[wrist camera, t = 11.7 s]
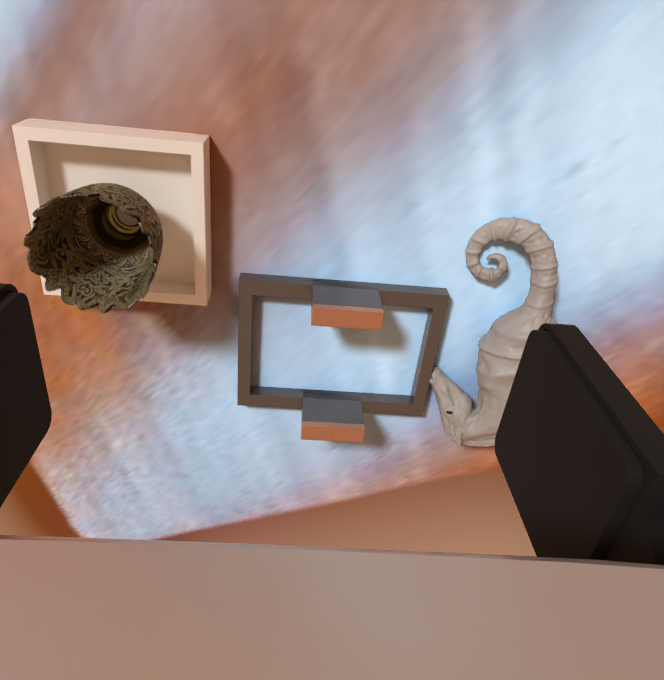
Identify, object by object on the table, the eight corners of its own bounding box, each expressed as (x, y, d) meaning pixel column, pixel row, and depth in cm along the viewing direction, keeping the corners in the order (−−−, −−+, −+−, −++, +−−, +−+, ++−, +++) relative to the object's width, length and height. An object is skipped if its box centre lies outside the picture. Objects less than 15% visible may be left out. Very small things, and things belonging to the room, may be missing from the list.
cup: (156, 280, 42) (125, 334, 35) (59, 230, 40) (6, 277, 33) (199, 197, 39) (175, 238, 32) (97, 138, 37) (47, 169, 30)
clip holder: (446, 287, 44) (461, 318, 39) (419, 408, 50) (429, 446, 45) (240, 271, 42) (232, 302, 38) (239, 397, 49) (232, 435, 44)
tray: (209, 135, 37) (203, 143, 35) (211, 290, 43) (206, 305, 41) (29, 117, 36) (11, 125, 34) (57, 279, 42) (43, 294, 40)
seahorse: (410, 231, 40) (428, 460, 48) (585, 221, 36) (574, 473, 44) (423, 215, 44) (438, 427, 52) (581, 205, 40) (571, 437, 48)
